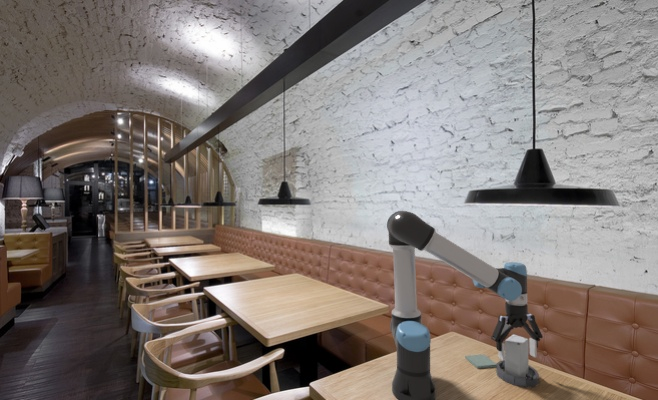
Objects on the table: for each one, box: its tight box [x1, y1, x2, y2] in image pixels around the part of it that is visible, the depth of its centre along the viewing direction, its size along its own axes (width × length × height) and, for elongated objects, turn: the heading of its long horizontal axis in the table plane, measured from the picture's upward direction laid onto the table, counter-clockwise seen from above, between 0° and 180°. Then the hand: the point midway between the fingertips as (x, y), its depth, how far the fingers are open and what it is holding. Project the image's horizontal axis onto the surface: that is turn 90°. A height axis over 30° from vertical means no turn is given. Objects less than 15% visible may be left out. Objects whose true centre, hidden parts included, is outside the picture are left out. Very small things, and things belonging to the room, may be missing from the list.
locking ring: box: [495, 360, 540, 388], centre depth 124 cm, size 14×15×4 cm
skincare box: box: [504, 333, 530, 378], centre depth 124 cm, size 8×6×15 cm
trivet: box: [464, 353, 497, 369], centre depth 136 cm, size 9×9×1 cm
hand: (517, 357), depth 124 cm, fingers open, 13 cm apart
